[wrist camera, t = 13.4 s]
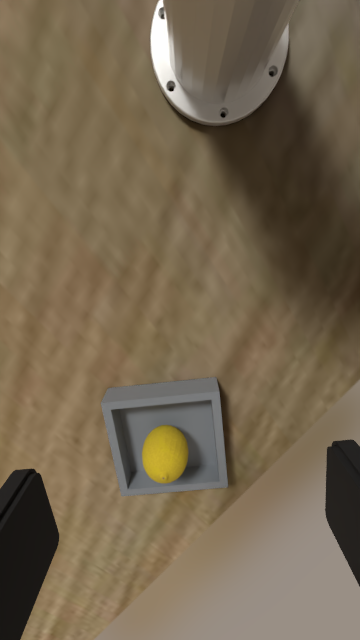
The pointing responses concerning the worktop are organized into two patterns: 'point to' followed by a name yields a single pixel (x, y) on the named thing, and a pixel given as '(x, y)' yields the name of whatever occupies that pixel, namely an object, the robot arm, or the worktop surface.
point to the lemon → (165, 454)
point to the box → (167, 409)
